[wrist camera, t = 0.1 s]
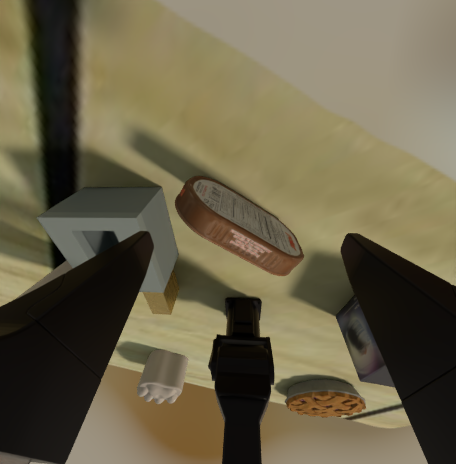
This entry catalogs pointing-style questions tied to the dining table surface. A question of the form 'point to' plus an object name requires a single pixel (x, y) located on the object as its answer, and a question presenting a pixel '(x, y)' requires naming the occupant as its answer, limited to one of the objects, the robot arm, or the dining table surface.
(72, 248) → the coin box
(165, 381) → the lumpy-topped squat cylinder
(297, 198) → the dining table surface
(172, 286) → the tan rectangular block
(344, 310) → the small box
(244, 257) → the tin
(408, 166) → the dining table surface
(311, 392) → the pie
